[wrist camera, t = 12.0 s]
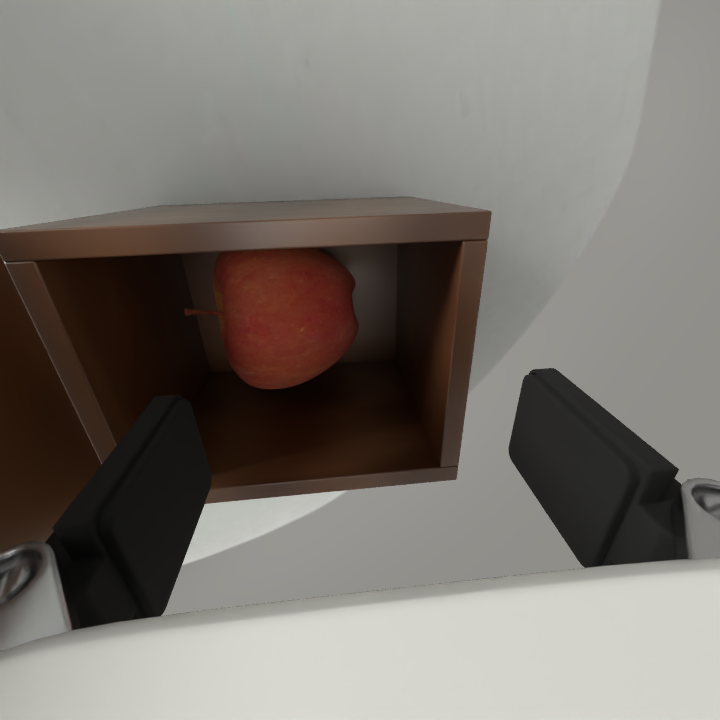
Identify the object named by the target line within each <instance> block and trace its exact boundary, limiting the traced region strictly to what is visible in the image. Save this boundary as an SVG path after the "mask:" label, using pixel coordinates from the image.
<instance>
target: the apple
mask: <svg viewBox="0 0 720 720" xmlns="http://www.w3.org/2000/svg"><path fill="white" fill-rule="evenodd" d="M354 288H355V279H354V277H353V276H352V274H351V273H350V272H349V271H348V270H347V269H346V268H345V267H344V266H343V265H342V264H341V263H339V262H338V261H337V260H335V259H334V258H333V257H331V256H330V255H328V254H327V253H325V252H323V251H322V250H320V249H318V248H297V249H275V250H253V251H232V252H221V253H220V254H219V256H218V258H217V260H216V262H215V266H214V270H213V289H214V294H215V300H216V306H217V311H201V310H192V309H188V308H185V315H186V316H189V315H193V314H207V315H218V319H219V325H220V330H221V335H222V340H223V345H224V349H225V353H226V357H227V359H228V361H229V363H230V365H231V367H232V368H233V370H234V371H235V372H236V373H237V375H238V376H239V377H240V378H241V379H242V380H243V381H244V382H246V383H247V384H249V385H251V386H253V387H256V388H260V389H282V388H288V387H292V386H296V385H299V384H301V383H304V382H306V381H309V380H310V379H312V378H314V377H316V376H318V375H319V374H321V373H322V372H324V371H326V370H327V369H328V368H330V367H331V366H332V365H333V364H335V363H336V362H337V361H338V360H339V359H340V358H341V357H342V356H343V354H344V353H345V352H346V351H347V350H348V348H349V347H350V346H351V344H352V342H353V341H354V339H355V337H356V335H357V332H358V328H359V322H358V320H357V317H356V316H355V313H354V307H353V299H352V292H353V290H354Z"/></svg>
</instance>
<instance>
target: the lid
mask: <svg viewBox="0 0 720 720" xmlns="http://www.w3.org/2000/svg"><path fill="white" fill-rule="evenodd" d="M101 465H102V464H101V462H100V460H99V458H98V456H97V453H96V451H95V449H94V447H93V445H92V443H91V441H90V439H89V437H88V435H87V433H86V431H85V429H84V427H83V425H82V423H81V420H80V418H79V416H78V414H77V412H76V410H75V408H74V406H73V404H72V402H71V400H70V398H69V396H68V394H67V392H66V390H65V387H64V385H63V383H62V381H61V379H60V377H59V375H58V373H57V371H56V369H55V367H54V365H53V363H52V361H51V359H50V357H49V354H48V352H47V350H46V348H45V346H44V344H43V342H42V340H41V338H40V336H39V334H38V332H37V330H36V328H35V326H34V324H33V321H32V319H31V317H30V315H29V313H28V311H27V309H26V307H25V305H24V303H23V301H22V299H21V297H20V295H19V293H18V290H17V288H16V286H15V284H14V282H13V280H12V278H11V276H10V274H9V272H8V270H7V268H6V266H5V264H4V262H3V260H2V257H1V255H0V551H2V550H4V549H6V548H9V547H11V546H13V545H17V544H21V543H25V542H31V541H41V542H44V543H45V542H46V541H47V539H48V538H49V537H50V536H51V534H52V533H53V532H54V531H53V529H52V527H53V526H54V524H55V523H56V522H57V521H58V519H59V518H60V517H61V516H62V514H63V513H64V512H65V510H66V509H67V508H68V507H69V505H70V504H71V503H72V502H73V500H74V499H75V498H76V496H77V495H78V494H79V493H80V491H81V490H82V489H83V488H84V486H85V485H86V484H87V483H88V481H89V480H90V479H91V477H92V476H93V475H94V474H95V472H96V471H97V470H98V469H99V467H100V466H101Z"/></svg>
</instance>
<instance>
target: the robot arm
mask: <svg viewBox="0 0 720 720" xmlns="http://www.w3.org/2000/svg"><path fill="white" fill-rule="evenodd" d="M509 455H510V458H511V460H512V462H513V463H514V465H515V466H516V468H517V469H518V471H519V472H520V474H521V475H522V477H523V478H524V480H525V481H526V483H527V484H528V486H529V487H530V489H531V490H532V492H533V493H534V495H535V496H536V498H537V499H538V501H539V502H540V504H541V505H542V507H543V508H544V510H545V511H546V513H547V514H548V516H549V517H550V519H551V520H552V522H553V523H554V525H555V526H556V528H557V529H558V531H559V532H560V534H561V535H562V537H563V538H564V540H565V541H566V543H567V544H568V546H569V547H570V549H571V550H572V552H573V553H574V555H575V556H576V558H577V559H578V561H579V562H580V563H581V564H582V566H584V567H585V568H580V569H571V570H561V571H551V572H542V573H533V574H524V575H523V574H522V575H513V576H504V577H494V578H485V579H475V580H467V581H457V582H449V583H439V584H430V585H421V586H412V587H403V588H394V589H385V590H376V591H367V592H358V593H349V594H340V595H331V596H323V597H314V598H306V599H297V600H288V601H280V602H271V603H263V604H254V605H246V606H237V607H228V608H221V609H211V610H203V611H196V612H188V613H181V614H173V615H166V616H161V615H162V614H163V612H164V610H165V608H166V606H167V603H168V601H169V598H170V595H171V592H172V590H173V587H174V585H175V582H176V579H177V577H178V574H179V571H180V568H181V566H182V563H183V561H184V558H185V555H186V552H187V550H188V547H189V544H190V542H191V539H192V536H193V534H194V531H195V528H196V526H197V523H198V520H199V518H200V515H201V512H202V510H203V507H204V504H205V501H206V499H207V496H208V493H209V491H210V488H211V484H212V474H211V470H210V467H209V463H208V460H207V457H206V453H205V450H204V447H203V443H202V440H201V437H200V433H199V430H198V427H197V423H196V420H195V417H194V413H193V410H192V407H191V404H190V402H189V400H184V399H183V398H182V396H180V395H168V396H157V397H155V398H154V399H153V400H152V401H151V403H150V404H149V405H148V406H147V408H146V409H145V410H144V411H143V413H142V414H141V415H140V416H139V418H138V419H137V420H136V422H135V423H134V424H133V425H132V427H131V428H130V429H129V430H128V432H127V433H126V434H125V436H124V437H123V438H122V439H121V441H120V442H119V443H118V444H117V446H116V447H115V448H114V450H113V451H112V452H111V453H110V455H109V456H108V457H107V458H106V460H105V461H104V462H103V463H102V465H101V466H100V467H99V469H98V470H97V471H96V472H95V474H94V475H93V476H92V477H91V479H90V480H89V481H88V483H87V484H86V485H85V486H84V488H83V489H82V490H81V491H80V493H79V494H78V495H77V496H76V498H75V499H74V500H73V502H72V503H71V504H70V505H69V507H68V508H67V509H66V510H65V512H64V513H63V514H62V516H61V517H60V518H59V519H58V521H57V522H56V523H55V524H54V526H53V527H52V529H53V531H54V532H53V533H52V534H51V536H50V537H49V538H48V539H47V541H46V542H45V543H44V542H41V541H31V542H25V543H21V544H17V545H13V546H11V547H9V548H6V549H4V550H2V551H0V720H720V481H716V480H712V479H706V478H694V479H688V480H687V481H686V482H684V483H683V484H682V485H681V484H680V483H679V482H678V481H677V480H675V479H674V478H675V476H676V474H677V472H678V470H679V469H678V468H677V467H675V466H674V465H673V464H672V463H670V462H669V461H668V460H667V459H665V458H664V457H663V456H662V455H661V454H659V453H658V452H657V451H656V450H655V449H653V448H652V447H651V446H650V445H648V444H647V443H646V442H645V441H643V440H642V439H641V438H640V437H639V436H637V435H636V434H635V433H634V432H632V431H631V430H630V429H629V428H627V427H626V426H625V425H624V424H623V423H621V422H620V421H619V420H618V419H616V418H615V417H614V416H613V415H611V414H610V413H609V412H608V411H606V410H605V409H604V408H603V407H601V406H600V405H599V404H598V403H597V402H596V401H594V400H593V399H592V398H591V397H589V396H588V395H587V394H586V393H584V392H583V391H582V390H581V389H579V388H578V387H577V386H576V385H575V384H573V383H572V382H571V381H570V380H568V379H567V378H566V377H565V376H564V375H562V374H561V373H560V372H559V371H557V370H556V369H554V368H548V369H535V370H532V371H530V373H529V375H526V376H525V377H524V379H523V383H522V388H521V393H520V397H519V402H518V407H517V412H516V416H515V421H514V425H513V430H512V435H511V440H510V444H509Z"/></svg>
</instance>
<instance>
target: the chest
mask: <svg viewBox="0 0 720 720" xmlns="http://www.w3.org/2000/svg"><path fill="white" fill-rule="evenodd" d="M490 221H491V211H488V210H482V209H476V208H471V207H465V206H459V205H454V204H448V203H442V202H437V201H431V200H426V199H420V198H414V197H384V198H357V199H329V200H302V201H275V202H247V203H220V204H193V205H165V206H155V207H147V208H141V209H134V210H127V211H121V212H114V213H108V214H101V215H94V216H88V217H81V218H74V219H68V220H61V221H54V222H48V223H41V224H34V225H28V226H21V227H14V228H8V229H1V230H0V255H1V257H2V259H3V261H5V262H6V263H5V266H6V268H7V270H8V272H9V274H10V276H11V278H12V280H13V282H14V284H15V286H16V288H17V290H18V292H19V294H20V297H21V299H22V301H23V303H24V305H25V307H26V309H27V311H28V313H29V315H30V317H31V319H32V321H33V323H34V325H35V327H36V330H37V332H38V334H39V336H40V338H41V340H42V342H43V344H44V346H45V348H46V350H47V352H48V354H49V356H50V358H51V360H52V363H53V365H54V367H55V369H56V371H57V373H58V375H59V377H60V379H61V381H62V383H63V385H64V387H65V389H66V391H67V394H68V396H69V398H70V400H71V402H72V404H73V406H74V408H75V410H76V412H77V414H78V416H79V418H80V420H81V422H82V424H83V427H84V429H85V431H86V433H87V435H88V437H89V439H90V441H91V443H92V445H93V447H94V449H95V451H96V453H97V455H98V457H99V460H100V462H101V464H102V463H103V462H104V461H105V460H106V458H107V457H108V456H109V455H110V453H111V452H112V451H113V450H114V448H115V447H116V446H117V444H118V443H119V442H120V441H121V439H122V438H123V437H124V436H125V434H126V433H127V432H128V430H129V429H130V428H131V427H132V425H133V424H134V423H135V422H136V420H137V419H138V418H139V416H140V415H141V414H142V413H143V411H144V410H145V409H146V408H147V406H148V405H149V404H150V403H151V401H152V400H153V399H154V398H155V397H157V396H168V395H180V396H182V398H183V399H184V400H189V402H190V404H191V407H192V410H193V413H194V417H195V420H196V423H197V427H198V430H199V433H200V437H201V440H202V443H203V447H204V450H205V453H206V457H207V460H208V463H209V467H210V470H211V474H212V484H211V488H210V491H209V493H208V496H207V499H206V501H205V504H208V503H218V502H228V501H239V500H249V499H259V498H270V497H280V496H291V495H301V494H311V493H322V492H332V491H343V490H353V489H363V488H374V487H383V486H395V485H405V484H415V483H425V482H435V481H446V480H456V478H457V471H458V463H459V456H460V448H461V440H462V432H463V424H464V417H465V409H466V402H467V395H468V387H469V379H470V372H471V364H472V356H473V349H474V341H475V334H476V326H477V318H478V311H479V303H480V295H481V288H482V280H483V273H484V265H485V257H486V250H487V239H488V236H489V228H490ZM297 248H318V249H320V250H322V251H323V252H325V253H327V254H328V255H330V256H331V257H333V258H334V259H335V260H337V261H338V262H339V263H341V264H342V265H343V266H344V267H345V268H346V269H347V270H348V271H349V272H350V273H351V274H352V276H353V277H354V279H355V288H354V290H353V292H352V299H353V307H354V313H355V316H356V317H357V320H358V322H359V328H358V332H357V335H356V337H355V339H354V341H353V342H352V344H351V346H350V347H349V348H348V350H347V351H346V352H345V353H344V354H343V356H342V357H341V358H340V359H339V360H338V361H337V362H336V363H335V364H333V365H332V366H331V367H330V368H328V369H327V370H326V371H324V372H322V373H321V374H319V375H318V376H316V377H314V378H312V379H310V380H309V381H306V382H304V383H301V384H299V385H296V386H292V387H288V388H282V389H260V388H256V387H253V386H251V385H249V384H247V383H246V382H244V381H243V380H242V379H241V378H240V377H239V376H238V375H237V373H236V372H235V371H234V370H233V368H232V367H231V365H230V363H229V361H228V359H227V357H226V353H225V349H224V345H223V340H222V335H221V330H220V325H219V319H218V315H207V314H193V315H189V316H186V315H185V308H188V309H192V310H201V311H217V306H216V300H215V294H214V289H213V270H214V266H215V262H216V260H217V258H218V256H219V254H220V253H221V252H232V251H253V250H275V249H297Z"/></svg>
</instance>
